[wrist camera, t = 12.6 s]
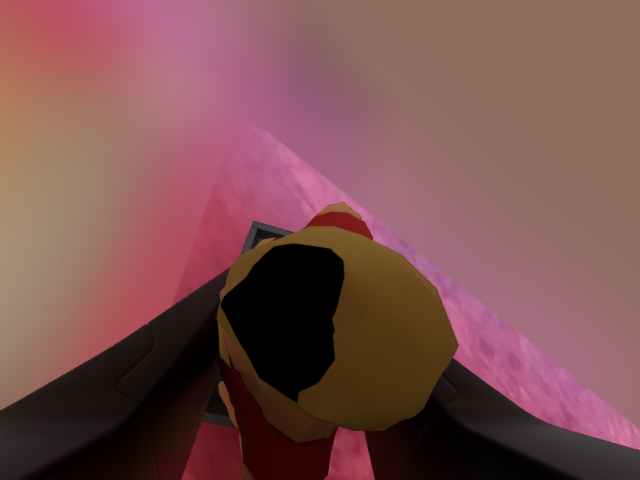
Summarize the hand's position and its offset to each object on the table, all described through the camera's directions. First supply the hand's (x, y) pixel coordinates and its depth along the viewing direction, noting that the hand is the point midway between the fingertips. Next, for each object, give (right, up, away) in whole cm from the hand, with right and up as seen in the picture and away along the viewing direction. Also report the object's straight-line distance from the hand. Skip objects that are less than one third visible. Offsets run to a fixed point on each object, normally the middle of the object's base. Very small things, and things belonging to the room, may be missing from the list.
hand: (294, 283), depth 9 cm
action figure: (-2, -4, +7) cm, 8 cm away
